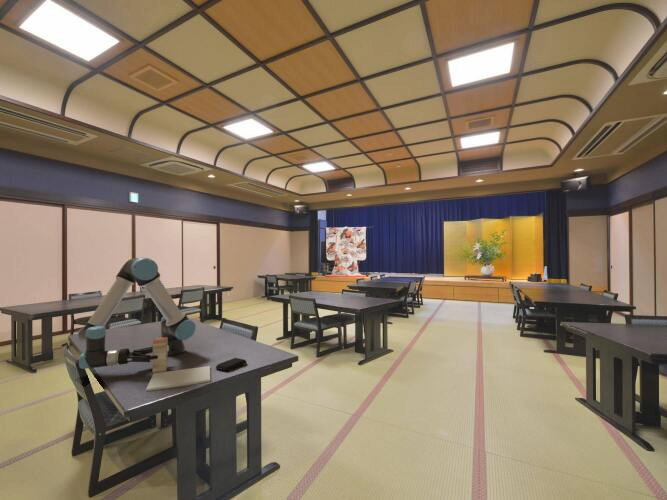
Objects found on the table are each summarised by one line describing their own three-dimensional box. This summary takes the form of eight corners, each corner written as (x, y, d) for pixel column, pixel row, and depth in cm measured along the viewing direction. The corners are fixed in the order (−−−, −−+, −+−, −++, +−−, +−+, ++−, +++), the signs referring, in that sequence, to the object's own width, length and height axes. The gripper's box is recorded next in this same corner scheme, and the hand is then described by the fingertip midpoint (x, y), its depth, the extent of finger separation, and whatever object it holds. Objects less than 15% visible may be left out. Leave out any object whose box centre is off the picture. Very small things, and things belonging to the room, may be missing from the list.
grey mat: (146, 391, 132) (146, 389, 132) (153, 375, 151) (153, 373, 151) (210, 381, 142) (210, 379, 142) (210, 367, 161) (210, 366, 161)
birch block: (154, 368, 160) (154, 338, 160) (167, 367, 162) (167, 337, 163) (152, 372, 154) (152, 341, 155) (165, 371, 157) (166, 339, 157)
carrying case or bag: (228, 373, 153) (249, 365, 166) (228, 367, 153) (249, 359, 166) (214, 370, 158) (235, 362, 171) (214, 364, 158) (235, 356, 171)
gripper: (125, 357, 163) (169, 352, 171) (111, 373, 140) (163, 366, 148) (125, 343, 163) (170, 339, 172) (111, 356, 140) (164, 351, 148)
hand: (167, 351), depth 160 cm, fingers open, 13 cm apart
